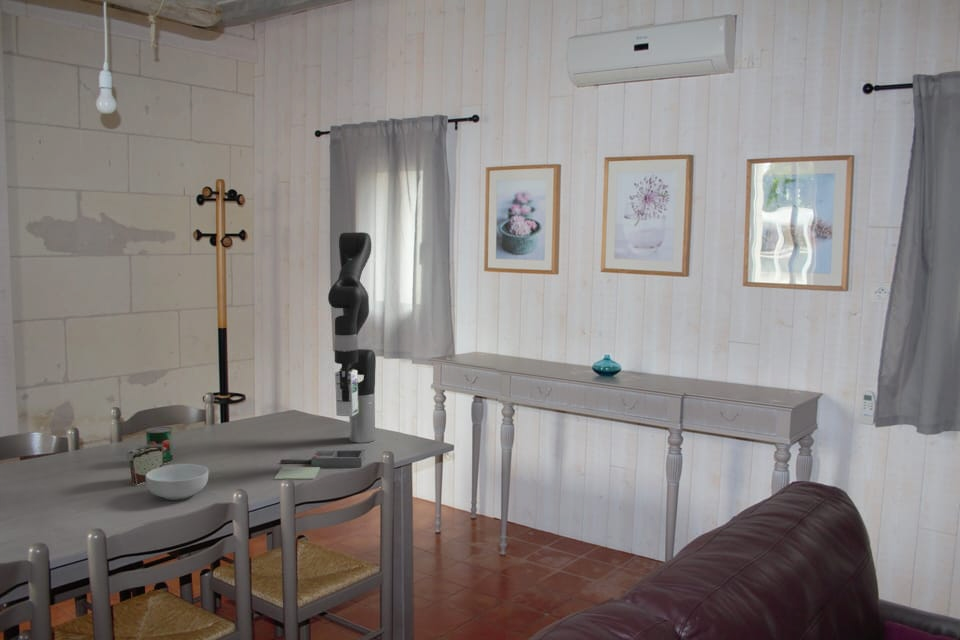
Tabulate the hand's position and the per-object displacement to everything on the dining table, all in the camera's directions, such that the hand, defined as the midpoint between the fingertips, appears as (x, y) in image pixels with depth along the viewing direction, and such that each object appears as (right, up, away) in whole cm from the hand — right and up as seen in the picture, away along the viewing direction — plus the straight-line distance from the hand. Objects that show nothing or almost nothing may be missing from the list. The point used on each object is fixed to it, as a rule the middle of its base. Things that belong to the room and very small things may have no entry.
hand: (347, 398), depth 267 cm
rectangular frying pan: (-9, -21, +2) cm, 23 cm away
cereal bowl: (-43, -25, -31) cm, 59 cm away
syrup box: (0, -5, +1) cm, 5 cm away
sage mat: (-14, -23, -10) cm, 28 cm away
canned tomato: (-62, -21, +3) cm, 66 cm away
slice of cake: (-60, -23, -17) cm, 66 cm away
